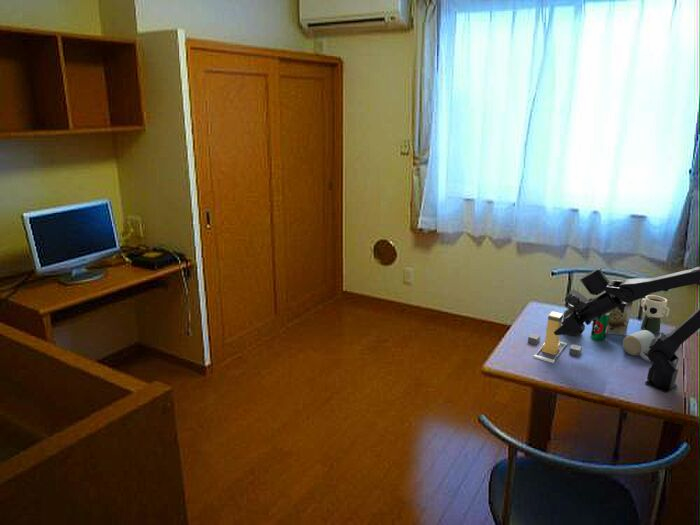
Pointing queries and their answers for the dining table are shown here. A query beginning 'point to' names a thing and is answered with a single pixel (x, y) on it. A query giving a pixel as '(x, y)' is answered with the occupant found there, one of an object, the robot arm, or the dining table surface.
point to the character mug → (653, 312)
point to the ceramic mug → (638, 343)
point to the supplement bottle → (568, 312)
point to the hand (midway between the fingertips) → (558, 328)
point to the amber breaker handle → (552, 333)
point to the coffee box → (619, 320)
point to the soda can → (600, 328)
